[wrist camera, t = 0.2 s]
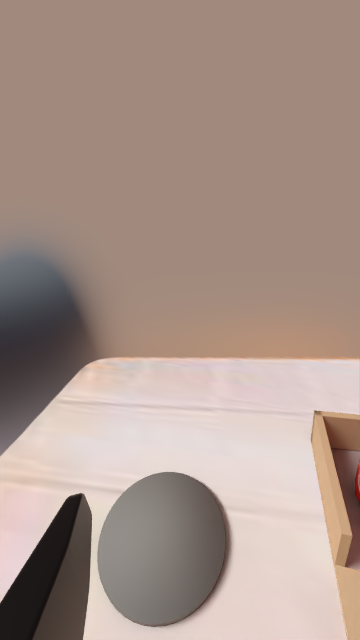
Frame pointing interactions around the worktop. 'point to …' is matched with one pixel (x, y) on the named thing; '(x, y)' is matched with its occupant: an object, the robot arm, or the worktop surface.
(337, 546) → the carton
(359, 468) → the soda can
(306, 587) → the worktop surface
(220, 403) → the worktop surface
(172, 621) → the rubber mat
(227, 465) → the worktop surface
